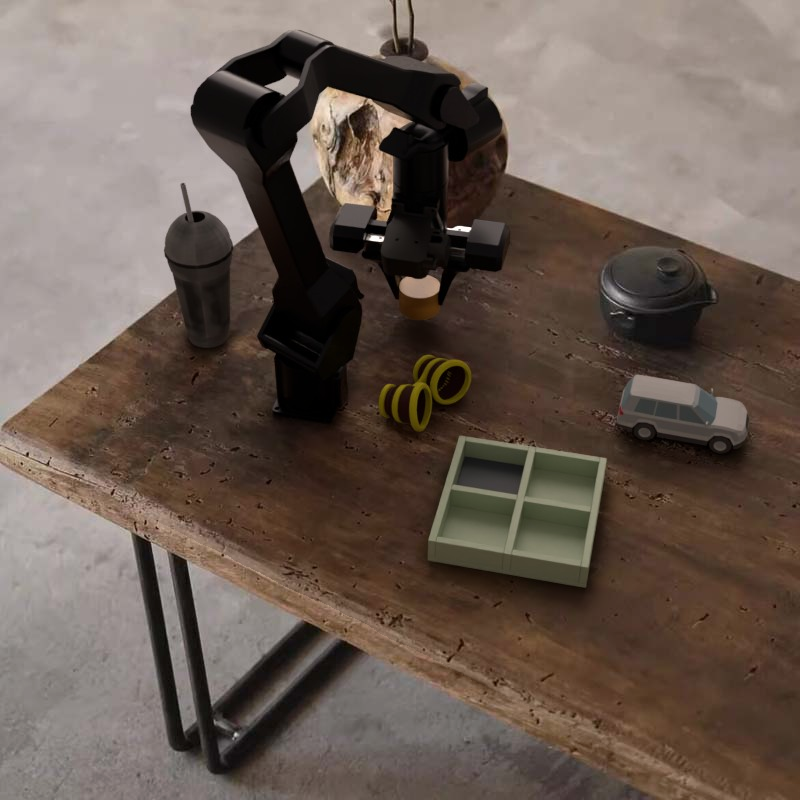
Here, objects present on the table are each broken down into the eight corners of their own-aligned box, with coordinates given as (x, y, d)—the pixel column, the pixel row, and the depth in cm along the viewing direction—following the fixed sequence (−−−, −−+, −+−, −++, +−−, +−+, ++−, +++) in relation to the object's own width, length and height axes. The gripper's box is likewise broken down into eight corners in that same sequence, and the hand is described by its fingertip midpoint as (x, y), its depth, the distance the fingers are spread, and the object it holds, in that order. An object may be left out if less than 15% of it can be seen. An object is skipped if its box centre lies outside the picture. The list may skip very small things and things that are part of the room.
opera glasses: (436, 381, 141) (429, 341, 138) (475, 393, 138) (469, 353, 135) (378, 428, 135) (370, 388, 133) (418, 442, 132) (410, 401, 130)
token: (394, 317, 146) (394, 295, 144) (404, 293, 149) (404, 271, 147) (435, 322, 145) (435, 300, 143) (443, 298, 148) (444, 276, 146)
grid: (427, 560, 120) (427, 540, 119) (458, 455, 131) (459, 435, 129) (585, 588, 118) (588, 567, 116) (604, 478, 129) (607, 458, 127)
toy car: (742, 460, 130) (751, 422, 127) (613, 437, 133) (618, 399, 130) (747, 423, 135) (755, 385, 131) (622, 401, 137) (627, 364, 134)
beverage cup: (255, 329, 147) (241, 172, 134) (214, 363, 142) (195, 205, 129) (204, 308, 150) (185, 153, 137) (162, 341, 145) (138, 184, 132)
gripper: (312, 208, 132) (318, 332, 142) (495, 232, 129) (489, 356, 139) (341, 153, 140) (345, 273, 150) (514, 174, 137) (506, 295, 147)
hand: (419, 300), depth 146 cm, fingers closed on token, 4 cm apart
